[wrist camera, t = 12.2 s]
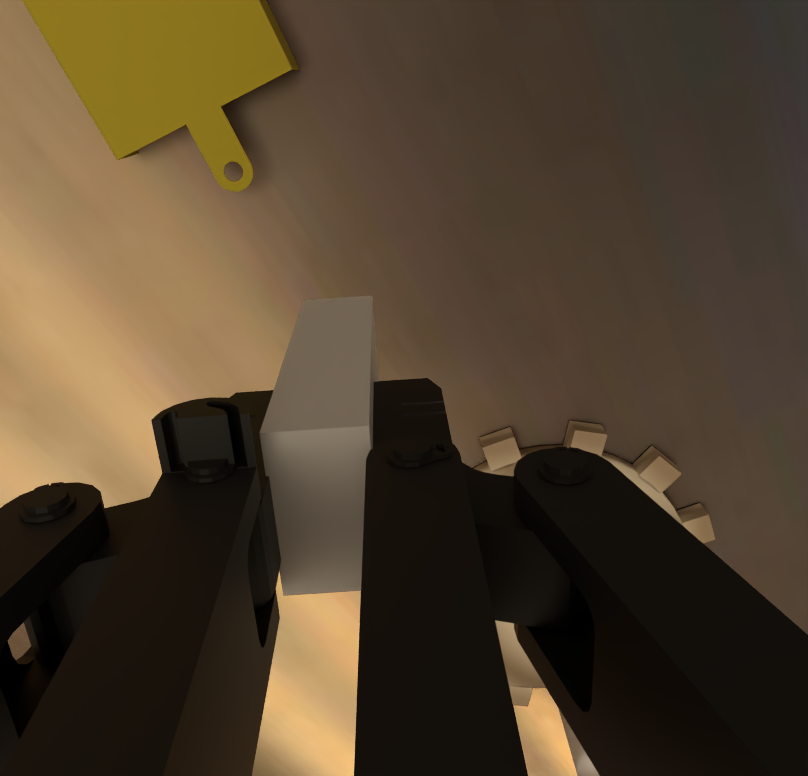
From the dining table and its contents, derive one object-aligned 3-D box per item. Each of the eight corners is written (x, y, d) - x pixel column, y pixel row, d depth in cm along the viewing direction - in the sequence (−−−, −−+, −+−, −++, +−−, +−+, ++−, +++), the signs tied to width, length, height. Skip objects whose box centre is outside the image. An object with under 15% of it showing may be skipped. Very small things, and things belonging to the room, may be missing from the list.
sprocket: (472, 371, 48) (498, 454, 38) (768, 493, 53) (867, 599, 42) (336, 636, 56) (326, 766, 46) (603, 723, 61) (651, 861, 50)
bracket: (97, 266, 38) (-100, -41, 32) (142, 236, 45) (-13, -20, 40) (372, 129, 36) (210, -224, 30) (373, 120, 43) (242, -167, 37)
